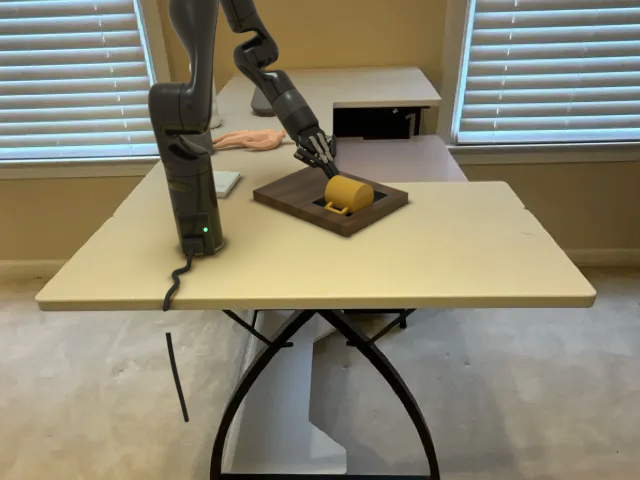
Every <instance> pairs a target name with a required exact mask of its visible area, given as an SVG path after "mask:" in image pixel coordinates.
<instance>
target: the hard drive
mask: <svg viewBox="0 0 640 480" xmlns="http://www.w3.org/2000/svg"><path fill="white" fill-rule="evenodd" d="M213 174H214V181H215V188H216V194H217V198H225V197H226V196H227V195H228V194H229V193H230V191H231V190H232V189H233V188H234V186H235V185H236V183H237V182H238V181H239V180H240V178H241V172H240V171H224V170H213Z"/></svg>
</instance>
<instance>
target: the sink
mask: <svg viewBox="0 0 640 480" xmlns="http://www.w3.org/2000/svg"><path fill="white" fill-rule="evenodd" d="M373 192H374V198H373V203H372V204H371V205H373V204H375V203H377V202H378V201H380V200H382V199H384V198H386V197H388V196H390V194H387V193H384V192H380V191H377V190H374V189H373ZM310 204H313V205H316V206H318V207H321V208H324V207H325V206H326V205H327V203H326V201H325V195H324V196H322V197H320V198H318V199H316V200H314V201H312V202H310ZM371 205H369V206H371ZM369 206H367V207H369ZM367 207H365V208H367ZM332 208H333V207H332ZM365 208H364V209H365ZM324 209H326V208H324ZM333 209H336V208H333ZM364 209H362V210H364ZM326 210H329V209H326ZM336 210H338V209H336ZM362 210H360V211H362ZM329 211H331V210H329ZM338 211H341V210H338ZM360 211H358V212H360ZM332 212H334V211H332ZM358 212H356V213H358ZM334 213H337V212H334ZM356 213H354V214H356ZM337 214H339V213H337ZM354 214H349V213H347V214H346V215H342V214H340V215H342V216H345V217H348V218H349V217H350V216H352V215H354Z"/></svg>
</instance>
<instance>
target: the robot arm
mask: <svg viewBox="0 0 640 480" xmlns="http://www.w3.org/2000/svg"><path fill="white" fill-rule="evenodd" d="M219 7H220V8H221V10H222V12H223V15H224V18H225V20H226V22H227V25H228V27H229V29H230V31H231V32H233V33H234V34H245V33H249V32H253V34H254V35H253V36H252V37H249V38H248V39H246V40H245V41H243V42H240V43H239V44H237V45H236V46H234V47H233V50H232V60H233V63H234V65H235V67H236V69H238V71H239V72H240V73H241V74H242V75H243V76H244V77H245V78H247V80H249V81H250V82H251V83H252V84H253V85H255V87H256V86H257V87H258V88H259V89H260V90H261V92H262V93H263V94H264V96H265V97H266V99H267V100H268V102H269V103H270V105H271V106H272V108H273V110H274V112H275V114H276V115H275V117H276V119H278V121H279V123H280V125H281V126H282V128H283V127H284V129H285V130H286V132H287V133H288V134H287V135H288V136H289V138H290V140H291V141H293V142H294V143H295V146H296V151H295V152H294V153H293V158H294V159H296V160H298V161H300V162H301V163H303V164H305V165H307V166H310V167H312V168H316V167H319V168H321V169H322V170H323V171H324V173H325V175H326V176H327V178H328V179H330V180H331V179H332V178H333V177H334V176H336V175H340V174H339V171H340V170H339V169H338V167H337V166H336V164H335V163H334V159H335V158H336V157H337V135H336V134H331V135H328V134H326V132H325V131H324V130H323V129H322V128H321V127H320V122H319V121H320V120H319V119H318V118H317V116H316V114H315V113H314V111H313V110H312V108H311V106H310V105H309V104H308V102H307V100H306V99H305V97H304V96H303V95H302V94H301V92H300V91H299V90H298V88H297V87H296V85H295V84H294V82H293V81H292V79H291V78H290V76H289V75H288V72H286V71H285V70H284V69H280V68H279V69H274V71H269V72H266V71H263V69H264V68H265V69H266V68H268V67H269V66H272V65H273V64H275V63H276V62H277V61H278V59H279V58H280V57H279V56H280V48H279V44H278V43H277V41H276V40H275V38H274V37H273V35H272V33H270V30H268V28H267V27H266V25H265V24H264V22H263V20H262V18H261V16H260V14H259V11H258V8H257V6H256V4H255V0H167V16H168V19H169V22H170V24H171V27H172V29H173V31H174V33H175V35H176V36H177V38H178V40H179V41H180V43H181V45H182V47H183V49H184V51H185V53H186V55H187V57H188V61H189V65H191V73H190V77H189V78H190V79H189V81H161V82H160V81H159V82H154V83H153V84H152V85H151V87H150V88H149V90H148V95H147V109H148V116H149V120H150V124H151V128H152V132H153V135H154V139H155V143H156V147H157V151H158V155H159V158H160V161H161V162H162V165H163V169H164V174H165V178H166V183H167V189H168V194H169V198H170V204H171V208H172V214H173V219H174V222H175V227H176V233H177V237H178V242H179V250H180V251H181V253H182V254H183V255H184V257H187V258H186V265H185V266H183V267H180V268H177V269H174V270H173V271H172V272H171V278H172V279H173V281H174V283H173V284H172V285H171V287H170V288H169V289H168V290H167V292H166V293H165V296H164V299H163V303H162V311H163V312H168V311H169V306H170V300H171V298H172V296H173V294H174V293H175V291H176V290H178V289H179V286H180V283H181V280H180V278H179V276H178V275H179V274H183V273H186V272H188V271H189V270H190V269H191V268H192V265H193V257H201V256H202V257H204V256H214V255H215V254H216V252H219V251H220V250H222V249H223V247H224V246H225V238H224V234H223V233H224V232H223V227H222V221H221V215H220V208H219V202H218V201H219V200H218V197H217V194H216V188H215V181H214V174H213V171H214V167H213V161H212V157H211V156H212V155H210V153H209V152H208V151H207V150H206V149H205V148H203V147H200V146H198V145H195V144H193V143H191V142H190V141H188V140H187V139H185V138H184V137H183V136H182V135H203V134H205V133H207V131H208V130H209V127H210V124H211V119H212V107H213V77H214V54H215V44H216V43H215V42H216V34H217V26H218V25H217V24H218V17H219ZM165 339H166V347H167V351H168V358H169V362H170V368H171V371H172V372H171V373H172V376H173V380H174V384H175V389H176V392H177V396H178V400H179V405H180V407H181V412H182V416H183V417H182V418H183V421H184V423H189V422H190V417H189V413H188V409H187V405H186V400H185V396H184V392H183V389H182V385H181V381H180V376H179V372H178V367H177V363H176V357H175V352H174V345H173V339H172V333H171V332H169V331H168V332H165Z"/></svg>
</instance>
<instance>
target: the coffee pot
mask: <svg viewBox="0 0 640 480" xmlns="http://www.w3.org/2000/svg"><path fill="white" fill-rule="evenodd" d="M274 70H275V69H274ZM274 70H273V69H266V68H264V69H263V71H266V72H269V71H274ZM250 107H251V109H252V110H253V111H254V112H255V113H256V114H257V115H258V116H264V117H270V116H276V114H275V112H274V110H273V108H272V106H271V105H270V103H269V102H268V100H267V99H266V97H265V96H264V94H263V93H262V92H261V90H260V89H259V88H258V87H257V86H256V85H255V88H254V91H253V95H252V98H251V102H250Z"/></svg>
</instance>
